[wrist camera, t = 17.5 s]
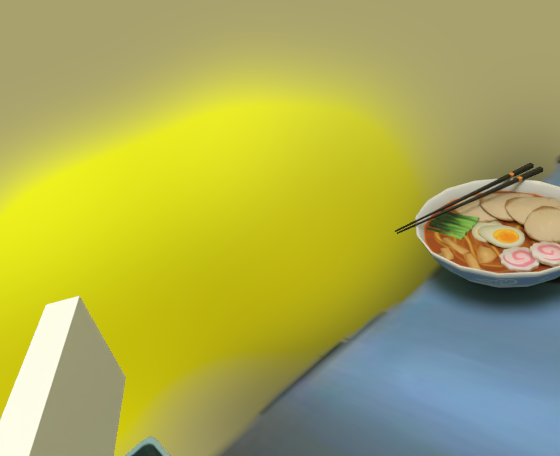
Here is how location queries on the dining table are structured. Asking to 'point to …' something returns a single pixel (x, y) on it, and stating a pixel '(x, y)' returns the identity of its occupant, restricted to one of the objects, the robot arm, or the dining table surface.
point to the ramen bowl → (495, 230)
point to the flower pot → (148, 448)
